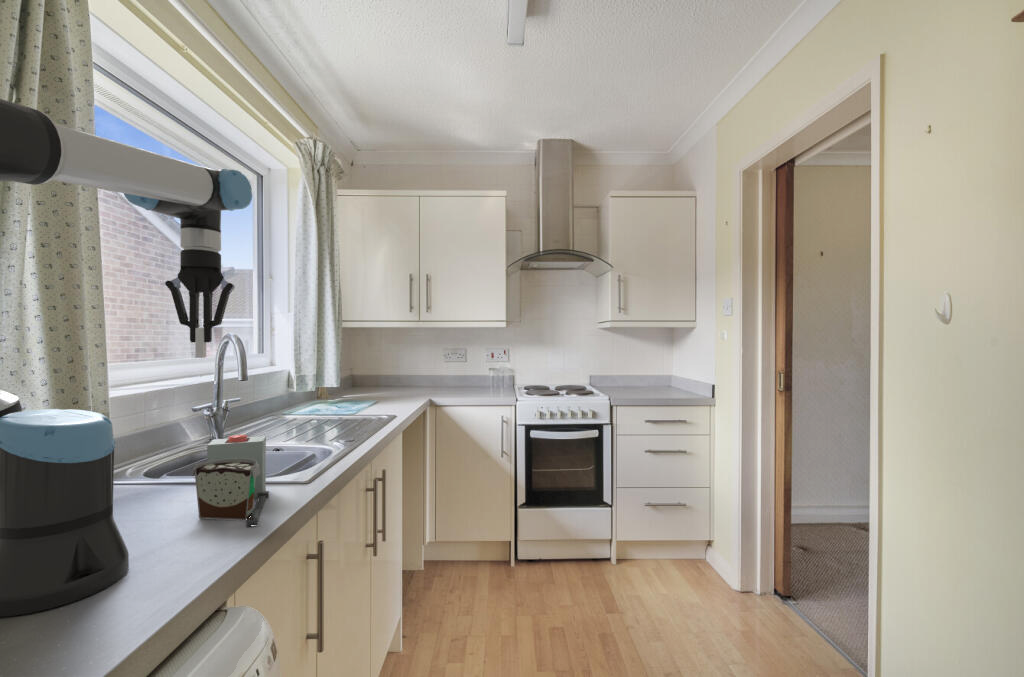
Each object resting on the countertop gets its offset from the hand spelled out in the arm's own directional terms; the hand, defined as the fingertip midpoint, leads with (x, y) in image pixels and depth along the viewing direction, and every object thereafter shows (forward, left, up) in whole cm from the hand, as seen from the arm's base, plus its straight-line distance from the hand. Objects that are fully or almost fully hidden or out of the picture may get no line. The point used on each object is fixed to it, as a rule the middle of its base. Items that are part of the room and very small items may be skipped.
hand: (200, 357), depth 104 cm
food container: (+9, -18, -30) cm, 36 cm away
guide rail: (+14, -19, -29) cm, 37 cm away
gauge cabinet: (+8, -8, -29) cm, 32 cm away
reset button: (+8, -8, -19) cm, 22 cm away
